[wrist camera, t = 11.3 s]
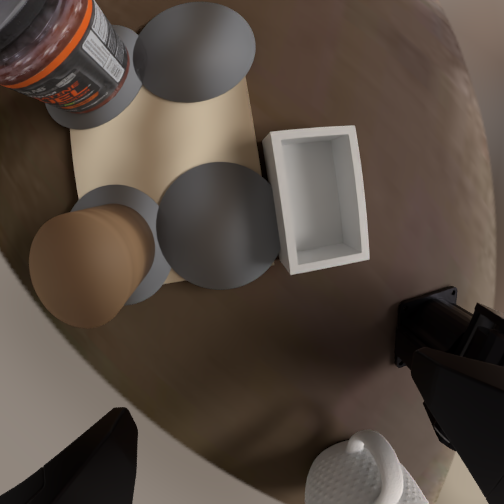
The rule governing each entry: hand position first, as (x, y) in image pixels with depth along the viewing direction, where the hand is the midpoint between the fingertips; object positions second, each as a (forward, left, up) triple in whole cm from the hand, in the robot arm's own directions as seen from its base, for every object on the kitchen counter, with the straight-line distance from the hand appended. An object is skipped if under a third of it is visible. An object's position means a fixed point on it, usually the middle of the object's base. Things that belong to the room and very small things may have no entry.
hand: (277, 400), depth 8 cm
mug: (-7, +22, -13) cm, 27 cm away
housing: (-5, -4, -13) cm, 15 cm away
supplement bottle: (+8, -15, -12) cm, 21 cm away
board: (+4, -9, -13) cm, 16 cm away
